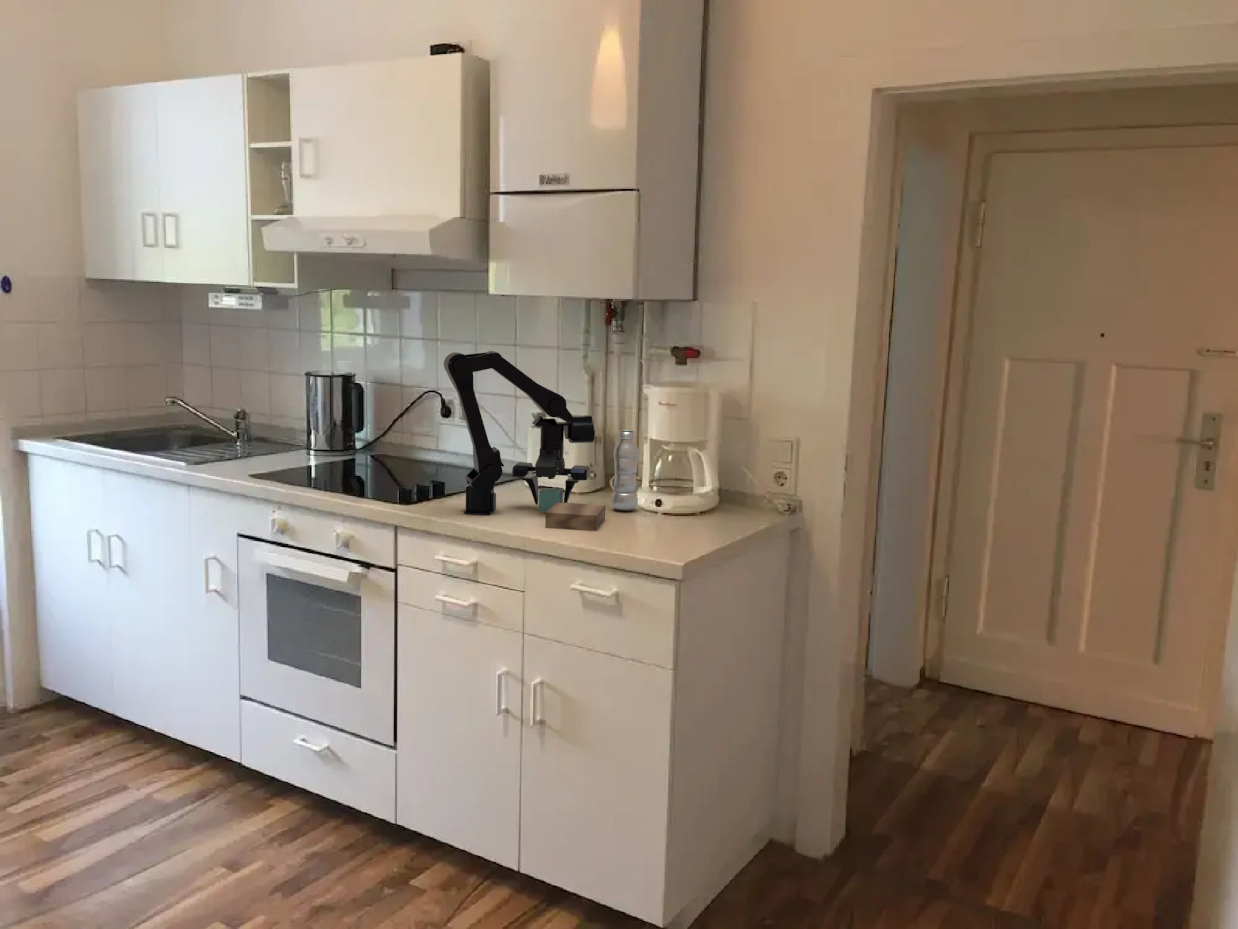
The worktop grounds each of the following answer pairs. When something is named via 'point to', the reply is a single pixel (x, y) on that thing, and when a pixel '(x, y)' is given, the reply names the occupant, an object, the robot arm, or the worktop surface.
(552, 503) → the teal cube
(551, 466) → the robot arm
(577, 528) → the walnut box
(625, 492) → the plastic bottle
